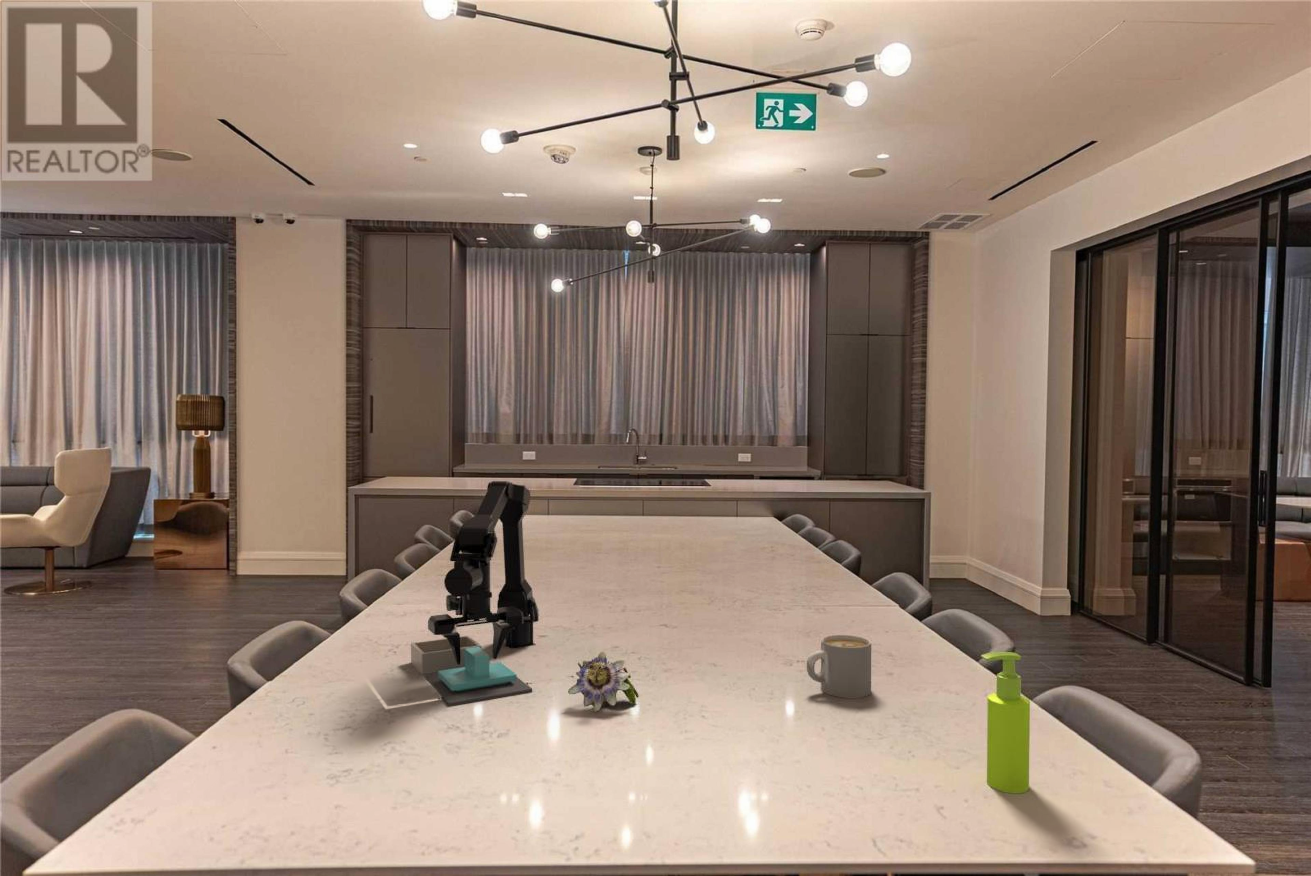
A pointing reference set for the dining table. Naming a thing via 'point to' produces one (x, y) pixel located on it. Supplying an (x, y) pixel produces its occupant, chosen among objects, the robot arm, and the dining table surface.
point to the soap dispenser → (1008, 729)
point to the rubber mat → (477, 691)
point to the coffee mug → (843, 666)
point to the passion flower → (603, 682)
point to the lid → (476, 672)
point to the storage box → (438, 654)
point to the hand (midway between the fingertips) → (476, 661)
